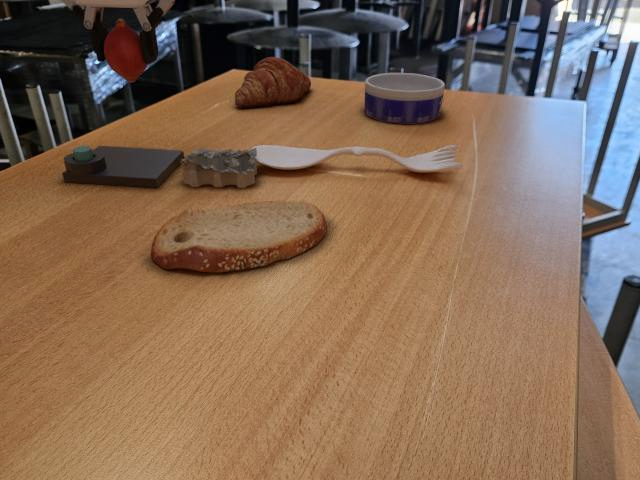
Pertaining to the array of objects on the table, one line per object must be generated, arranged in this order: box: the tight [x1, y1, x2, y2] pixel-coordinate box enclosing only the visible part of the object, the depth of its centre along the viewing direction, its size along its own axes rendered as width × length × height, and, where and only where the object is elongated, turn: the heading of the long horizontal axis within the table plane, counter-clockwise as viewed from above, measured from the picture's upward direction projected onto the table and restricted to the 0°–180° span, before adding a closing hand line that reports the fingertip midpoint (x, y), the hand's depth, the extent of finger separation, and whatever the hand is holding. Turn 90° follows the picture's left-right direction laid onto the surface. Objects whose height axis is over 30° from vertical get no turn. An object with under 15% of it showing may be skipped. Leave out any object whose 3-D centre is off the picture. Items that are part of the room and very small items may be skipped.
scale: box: [61, 145, 185, 189], centre depth 86 cm, size 14×12×3 cm
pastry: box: [234, 56, 312, 109], centre depth 119 cm, size 17×15×8 cm
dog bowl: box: [364, 72, 446, 125], centre depth 112 cm, size 15×15×6 cm
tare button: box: [72, 145, 94, 161], centre depth 83 cm, size 3×3×2 cm
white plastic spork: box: [250, 144, 464, 173], centre depth 88 cm, size 9×32×4 cm, turn 85°
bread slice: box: [150, 199, 328, 274], centre depth 68 cm, size 18×18×4 cm
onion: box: [104, 18, 149, 83], centre depth 78 cm, size 6×6×8 cm
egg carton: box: [180, 147, 258, 189], centre depth 84 cm, size 11×8×4 cm
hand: (127, 59), depth 79 cm, fingers closed on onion, 5 cm apart
